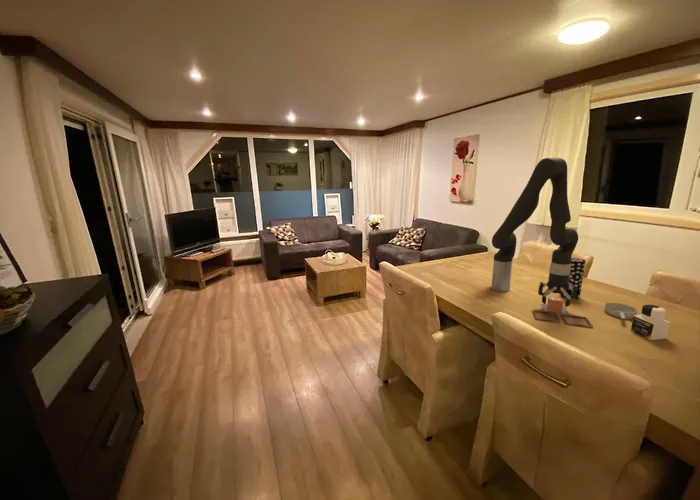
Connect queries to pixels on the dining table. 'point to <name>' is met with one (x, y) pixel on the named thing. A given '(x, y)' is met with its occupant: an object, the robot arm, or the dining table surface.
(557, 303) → the letter block
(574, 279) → the white-spotted black cylinder
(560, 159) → the robot arm
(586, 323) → the tray
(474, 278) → the dining table surface
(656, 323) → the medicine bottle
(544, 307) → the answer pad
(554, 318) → the tray
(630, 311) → the saucepan
